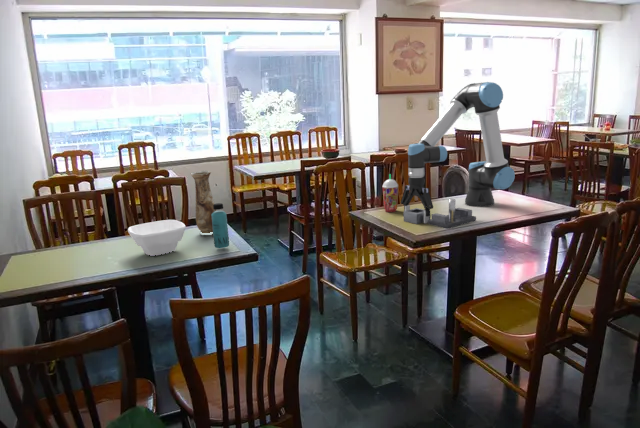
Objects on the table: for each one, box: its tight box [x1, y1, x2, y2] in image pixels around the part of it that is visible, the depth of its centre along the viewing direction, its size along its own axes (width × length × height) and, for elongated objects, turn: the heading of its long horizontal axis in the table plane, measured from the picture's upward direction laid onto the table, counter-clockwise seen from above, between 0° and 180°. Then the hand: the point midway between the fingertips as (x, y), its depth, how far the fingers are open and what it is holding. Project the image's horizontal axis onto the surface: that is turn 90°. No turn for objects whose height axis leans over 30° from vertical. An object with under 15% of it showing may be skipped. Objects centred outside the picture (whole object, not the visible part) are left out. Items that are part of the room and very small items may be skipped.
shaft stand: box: [427, 198, 477, 230], centre depth 233 cm, size 20×12×11 cm, turn 125°
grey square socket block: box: [403, 207, 431, 225], centre depth 240 cm, size 9×9×5 cm
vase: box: [190, 170, 217, 233], centre depth 235 cm, size 10×11×30 cm
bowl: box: [127, 219, 187, 257], centre depth 209 cm, size 22×22×12 cm
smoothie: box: [382, 173, 399, 213], centre depth 261 cm, size 8×8×20 cm
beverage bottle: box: [211, 202, 230, 249], centre depth 208 cm, size 6×7×20 cm
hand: (416, 220), depth 240 cm, fingers open, 12 cm apart
